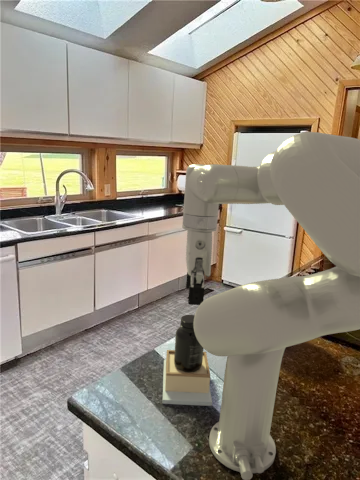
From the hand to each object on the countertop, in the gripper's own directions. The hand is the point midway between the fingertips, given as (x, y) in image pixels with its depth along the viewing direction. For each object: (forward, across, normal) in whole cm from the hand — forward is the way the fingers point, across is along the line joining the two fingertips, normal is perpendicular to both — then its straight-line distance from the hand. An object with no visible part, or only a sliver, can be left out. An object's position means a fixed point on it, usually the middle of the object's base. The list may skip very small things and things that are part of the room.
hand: (194, 295), depth 80 cm
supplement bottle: (+18, 0, 0) cm, 18 cm away
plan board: (+23, +1, 0) cm, 23 cm away
